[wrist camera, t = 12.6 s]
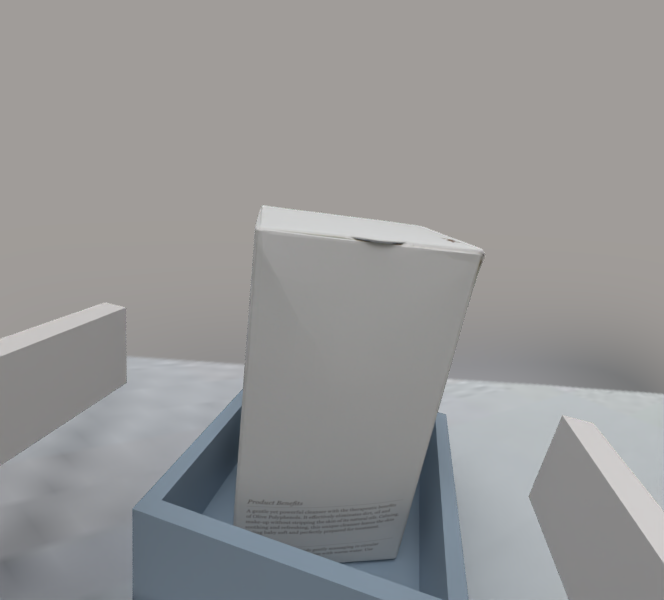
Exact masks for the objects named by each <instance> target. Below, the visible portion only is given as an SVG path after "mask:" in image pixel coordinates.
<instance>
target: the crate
mask: <svg viewBox="0 0 664 600" xmlns="http://www.w3.org/2000/svg"><path fill="white" fill-rule="evenodd" d="M242 396H243V389H242V390H241V391H240V392H239V394H238V395H237V396H236V397H235V398H234V399H233V400H232V401H231V402H230V403H229V404H228V405H227V407H226V408H225V409H224V410H223V411H222V412H221V413H220V414H219V415H218V416H217V417H216V419H215V420H214V421H213V422H212V423H211V424H210V425H209V426H208V427H207V428H206V429H205V430H204V432H203V433H202V434H201V435H200V436H199V437H198V438H197V439H196V440H195V441H194V442H193V443H192V445H191V446H190V447H189V448H188V449H187V450H186V451H185V452H184V453H183V454H182V455H181V457H180V458H179V459H178V460H177V461H176V462H175V463H174V464H173V465H172V466H171V467H170V468H169V470H168V471H167V472H166V473H165V474H164V475H163V476H162V477H161V478H160V479H159V480H158V482H157V483H156V484H155V485H154V486H153V487H152V488H151V489H150V490H149V491H148V492H147V493H146V495H145V496H144V497H143V498H142V499H141V500H140V501H139V502H138V503H137V504H136V505H135V507H134V508H133V509H132V516H133V600H469V599H468V591H467V582H466V574H465V566H464V558H463V550H462V541H461V533H460V525H459V517H458V508H457V500H456V492H455V484H454V476H453V467H452V459H451V451H450V443H449V434H448V426H447V418H446V414H443V413H439V412H438V413H437V417H436V420H435V424H434V427H433V431H432V434H431V438H430V441H429V445H428V448H427V452H426V455H425V459H424V462H423V466H422V469H421V473H420V476H419V480H418V483H417V487H416V490H415V494H414V497H413V501H412V505H411V508H410V512H409V516H408V519H407V523H406V527H405V530H404V534H403V537H402V541H401V544H400V548H399V551H398V554H397V557H396V558H395V559H384V560H371V561H357V562H343V563H338V562H335V561H332V560H329V559H327V558H324V557H321V556H318V555H315V554H312V553H310V552H307V551H304V550H301V549H298V548H296V547H293V546H290V545H287V544H284V543H281V542H279V541H276V540H273V539H270V538H267V537H264V536H262V535H259V534H256V533H253V532H250V531H247V530H245V529H242V528H239V527H236V526H233V520H234V504H235V490H236V476H237V463H238V450H239V437H240V424H241V410H242Z"/></svg>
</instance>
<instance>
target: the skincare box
mask: <svg viewBox="0 0 664 600" xmlns="http://www.w3.org/2000/svg"><path fill="white" fill-rule="evenodd" d="M484 259H485V253H484V251H483V249H481V248H479V247H476V246H474V245H471V244H468V243H466V242H463V241H460V240H457V239H455V238H451V237H449V236H446V235H444V234H441V233H439V232H436V231H433V230H431V229H428V228H426V227H423V226H419V225H411V224H404V223H397V222H390V221H382V220H375V219H366V218H358V217H350V216H342V215H334V214H326V213H318V212H310V211H302V210H295V209H287V208H279V207H272V206H265V205H262V207H261V209H260V212H259V215H258V218H257V222H256V226H255V237H254V251H253V263H252V276H251V289H250V303H249V315H248V328H247V342H246V355H245V368H244V382H243V396H242V410H241V424H240V437H239V450H238V463H237V476H236V490H235V504H234V520H233V526H236V527H239V528H242V529H245V530H247V531H250V532H253V533H256V534H259V535H262V536H264V537H267V538H270V539H273V540H276V541H279V542H281V543H284V544H287V545H290V546H293V547H296V548H298V549H301V550H304V551H307V552H310V553H312V554H315V555H318V556H321V557H324V558H327V559H329V560H332V561H335V562H338V563H343V562H357V561H371V560H384V559H395V558H396V557H397V554H398V551H399V548H400V544H401V541H402V537H403V534H404V530H405V527H406V523H407V519H408V516H409V512H410V508H411V505H412V501H413V497H414V494H415V490H416V487H417V483H418V480H419V476H420V473H421V469H422V466H423V462H424V459H425V455H426V452H427V448H428V445H429V441H430V438H431V434H432V431H433V427H434V424H435V420H436V417H437V413H438V409H439V406H440V403H441V399H442V396H443V392H444V389H445V385H446V382H447V378H448V375H449V371H450V367H451V364H452V360H453V357H454V353H455V350H456V346H457V343H458V339H459V336H460V332H461V328H462V325H463V321H464V318H465V314H466V311H467V308H468V305H469V301H470V298H471V295H472V291H473V288H474V285H475V282H476V279H477V276H478V273H479V270H480V268H481V266H482V263H483V261H484Z"/></svg>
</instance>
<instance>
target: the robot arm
mask: <svg viewBox="0 0 664 600" xmlns="http://www.w3.org/2000/svg"><path fill="white" fill-rule="evenodd" d="M126 383H127V376H126V307H122V306H118V305H113V304H110V303H106V302H104V303H101V304H99V305H96V306H93V307H90V308H87V309H84V310H81V311H78V312H76V313H73V314H70V315H67V316H64V317H61V318H58V319H55V320H53V321H50V322H47V323H44V324H41V325H38V326H35V327H32V328H30V329H27V330H24V331H21V332H18V333H15V334H12V335H9V336H7V337H4V338H1V339H0V466H1V465H2V464H4V463H5V462H7V461H8V460H10V459H11V458H13V457H14V456H16V455H17V454H19V453H20V452H22V451H23V450H25V449H27V448H28V447H30V446H31V445H33V444H34V443H36V442H37V441H39V440H40V439H42V438H43V437H45V436H46V435H48V434H49V433H51V432H52V431H54V430H55V429H57V428H59V427H60V426H62V425H63V424H65V423H66V422H68V421H69V420H71V419H72V418H74V417H75V416H77V415H78V414H80V413H81V412H83V411H84V410H86V409H87V408H89V407H91V406H92V405H94V404H95V403H97V402H98V401H100V400H101V399H103V398H104V397H106V396H107V395H109V394H110V393H112V392H113V391H115V390H116V389H118V388H120V387H121V386H123V385H124V384H126ZM529 498H530V501H531V504H532V506H533V509H534V511H535V514H536V516H537V519H538V522H539V524H540V527H541V529H542V532H543V534H544V537H545V540H546V542H547V545H548V547H549V550H550V553H551V555H552V558H553V560H554V563H555V565H556V568H557V571H558V573H559V576H560V578H561V581H562V583H563V586H564V589H565V591H566V594H567V596H568V599H569V600H664V511H663V510H662V508H661V507H660V506H659V505H658V503H657V502H656V501H655V500H654V498H653V497H652V496H651V495H650V493H649V492H648V491H647V490H646V488H645V487H644V486H643V485H642V483H641V482H640V481H639V480H638V478H637V477H636V476H635V475H634V473H633V472H632V471H631V470H630V468H629V467H628V466H627V465H626V463H625V462H624V461H623V460H622V458H621V457H620V456H619V454H618V453H617V452H616V451H615V449H614V448H613V447H612V446H611V444H610V443H609V442H608V441H607V439H606V438H605V437H604V436H603V434H602V433H601V432H600V431H599V429H598V428H597V427H596V426H595V424H594V423H591V422H587V421H583V420H579V419H575V418H571V417H567V416H563V415H562V417H561V420H560V422H559V425H558V427H557V429H556V432H555V434H554V437H553V439H552V441H551V444H550V446H549V449H548V451H547V453H546V456H545V458H544V461H543V463H542V465H541V468H540V470H539V473H538V475H537V477H536V480H535V482H534V484H533V487H532V489H531V492H530V494H529Z"/></svg>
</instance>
